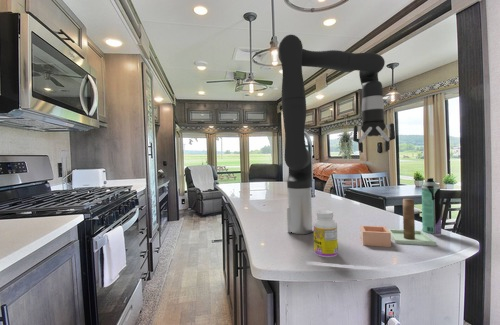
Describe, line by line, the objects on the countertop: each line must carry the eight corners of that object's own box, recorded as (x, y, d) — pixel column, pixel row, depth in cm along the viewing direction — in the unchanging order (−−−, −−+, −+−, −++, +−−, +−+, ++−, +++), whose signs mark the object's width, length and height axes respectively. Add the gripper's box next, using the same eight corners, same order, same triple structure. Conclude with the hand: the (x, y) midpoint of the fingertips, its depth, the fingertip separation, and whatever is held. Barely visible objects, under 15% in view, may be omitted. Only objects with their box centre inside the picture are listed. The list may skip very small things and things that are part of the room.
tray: (395, 245, 81) (395, 240, 81) (387, 234, 93) (386, 229, 93) (436, 248, 78) (436, 242, 78) (421, 235, 90) (421, 230, 90)
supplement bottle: (311, 252, 78) (309, 210, 78) (332, 250, 78) (331, 209, 78) (318, 260, 71) (317, 214, 71) (341, 259, 72) (340, 213, 72)
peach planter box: (363, 247, 80) (362, 231, 80) (360, 240, 88) (360, 225, 88) (391, 249, 78) (390, 233, 78) (385, 241, 85) (385, 226, 85)
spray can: (444, 236, 88) (443, 178, 88) (427, 236, 90) (425, 178, 89) (436, 231, 94) (435, 177, 94) (420, 231, 95) (418, 177, 95)
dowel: (405, 239, 84) (404, 199, 84) (402, 236, 87) (401, 198, 87) (416, 239, 83) (415, 200, 83) (413, 236, 86) (412, 198, 86)
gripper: (353, 109, 96) (354, 152, 96) (396, 106, 92) (397, 151, 92) (351, 113, 103) (353, 153, 103) (391, 109, 99) (392, 151, 99)
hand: (373, 152), depth 98 cm, fingers open, 8 cm apart
